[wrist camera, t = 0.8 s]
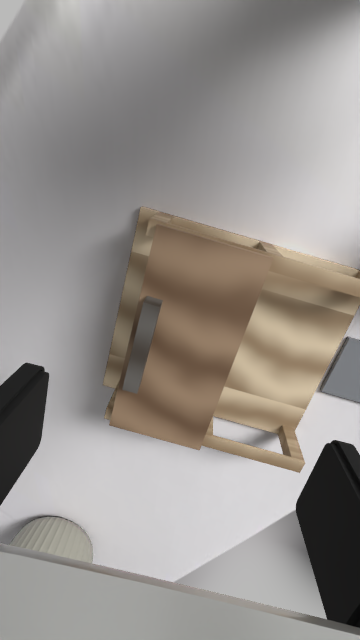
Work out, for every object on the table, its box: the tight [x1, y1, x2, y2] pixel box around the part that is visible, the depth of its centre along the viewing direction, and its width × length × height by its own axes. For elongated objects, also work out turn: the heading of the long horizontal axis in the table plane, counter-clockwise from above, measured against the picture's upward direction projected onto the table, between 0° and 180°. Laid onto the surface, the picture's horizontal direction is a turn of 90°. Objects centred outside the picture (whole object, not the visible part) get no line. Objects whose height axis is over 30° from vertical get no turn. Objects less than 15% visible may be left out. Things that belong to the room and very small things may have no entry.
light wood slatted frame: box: [103, 207, 360, 473], centre depth 40 cm, size 24×27×7 cm
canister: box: [9, 517, 93, 563], centre depth 51 cm, size 18×18×21 cm
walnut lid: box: [109, 224, 273, 450], centre depth 35 cm, size 24×11×3 cm, turn 165°
